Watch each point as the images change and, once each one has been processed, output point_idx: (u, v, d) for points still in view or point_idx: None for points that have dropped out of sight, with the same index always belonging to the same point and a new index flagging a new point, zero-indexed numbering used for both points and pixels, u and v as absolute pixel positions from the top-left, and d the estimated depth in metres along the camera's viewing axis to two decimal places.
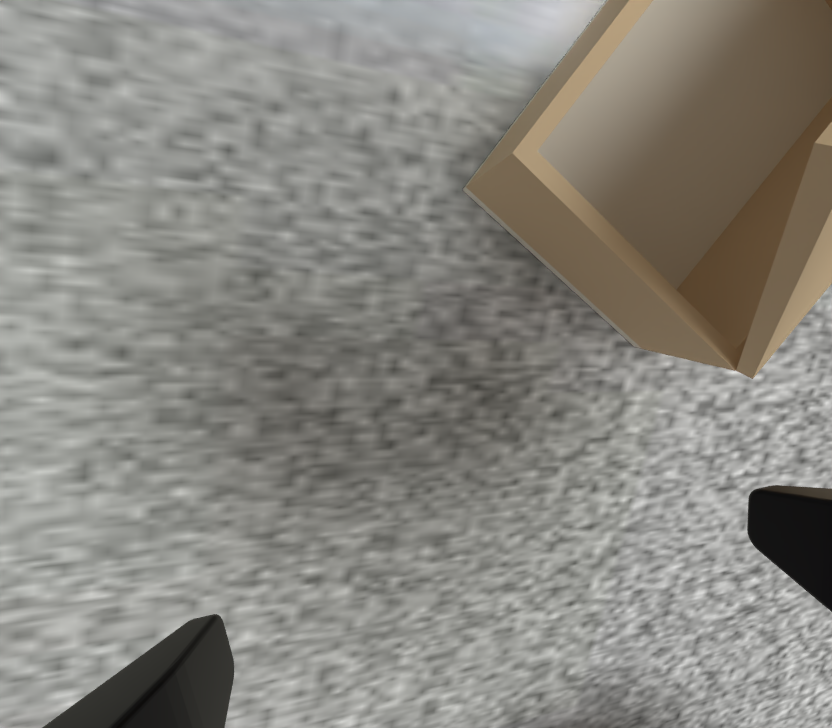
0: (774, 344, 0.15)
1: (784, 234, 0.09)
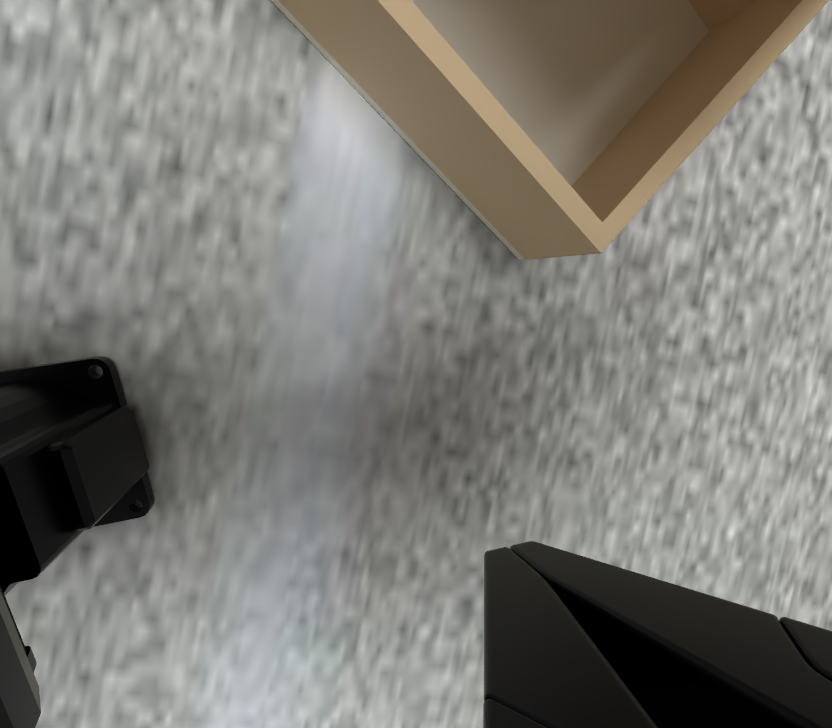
0: None
1: None
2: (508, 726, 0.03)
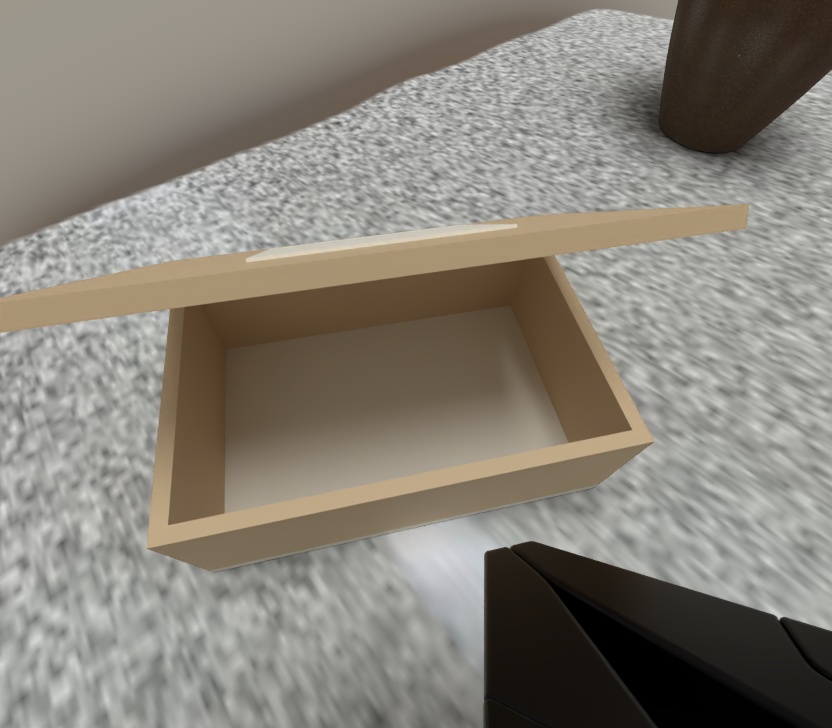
0: (545, 215, 0.20)
1: None
2: (508, 726, 0.03)
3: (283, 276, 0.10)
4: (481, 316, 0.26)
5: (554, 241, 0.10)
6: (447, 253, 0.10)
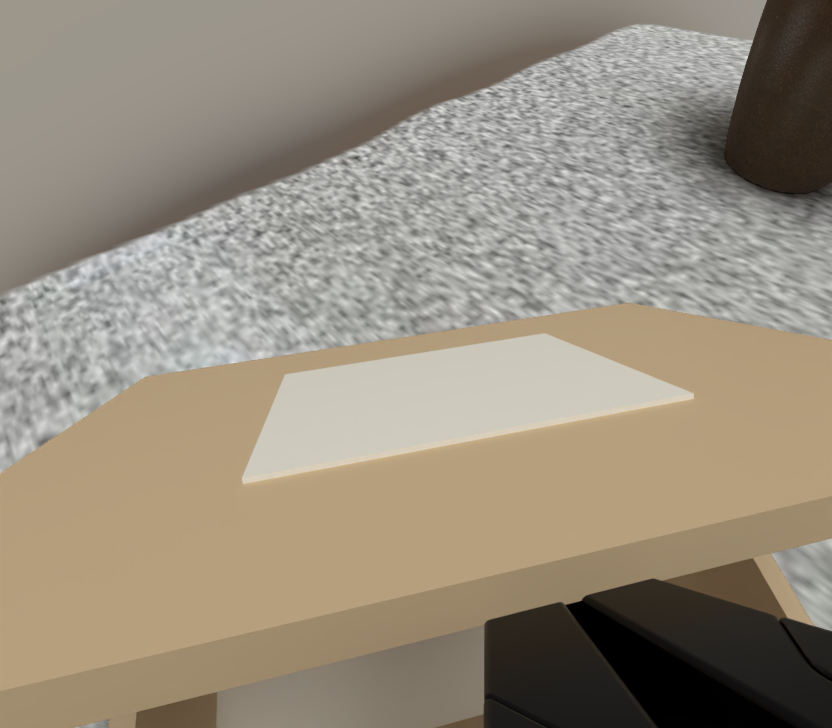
0: (650, 312, 0.15)
1: None
2: (508, 726, 0.03)
3: (318, 636, 0.04)
4: None
5: None
6: (661, 553, 0.05)
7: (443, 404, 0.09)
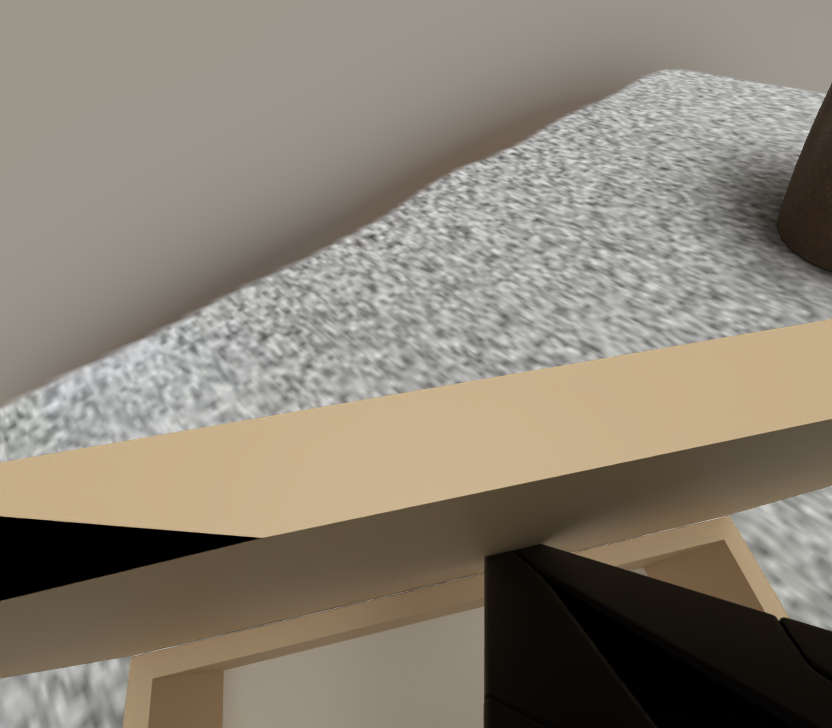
0: None
1: None
2: (508, 726, 0.03)
3: (202, 473, 0.02)
4: None
5: None
6: None
7: None
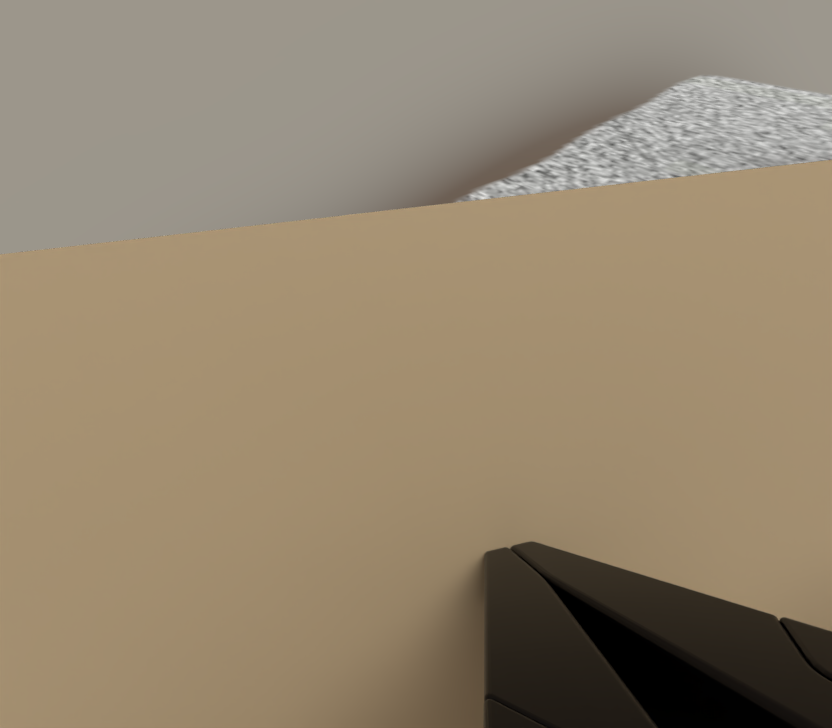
0: None
1: None
2: (508, 726, 0.03)
3: None
4: None
5: None
6: None
7: None
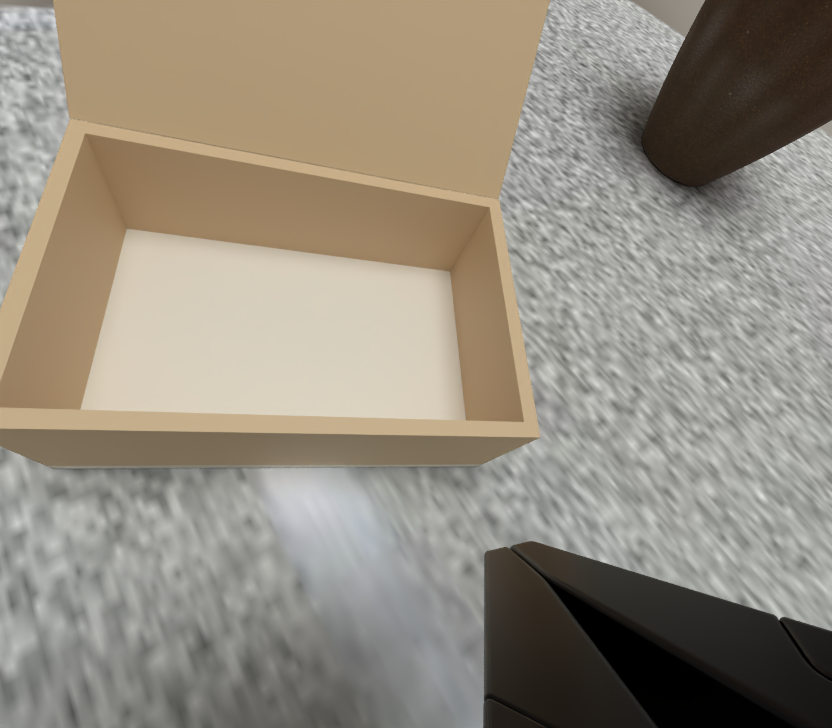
0: None
1: None
2: (508, 726, 0.03)
3: None
4: (418, 274, 0.25)
5: None
6: None
7: None
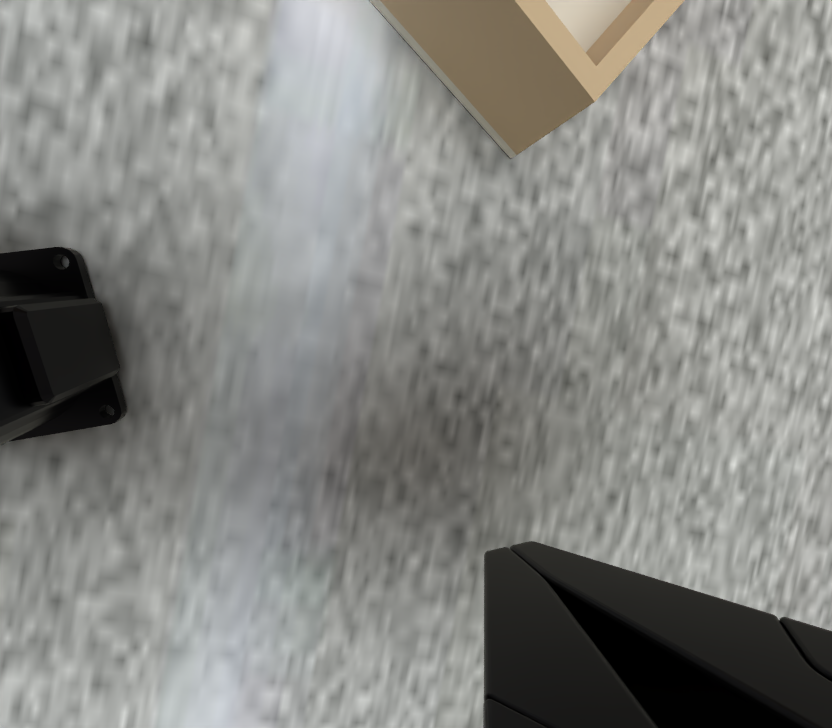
0: None
1: None
2: (508, 726, 0.03)
3: None
4: None
5: None
6: None
7: None
